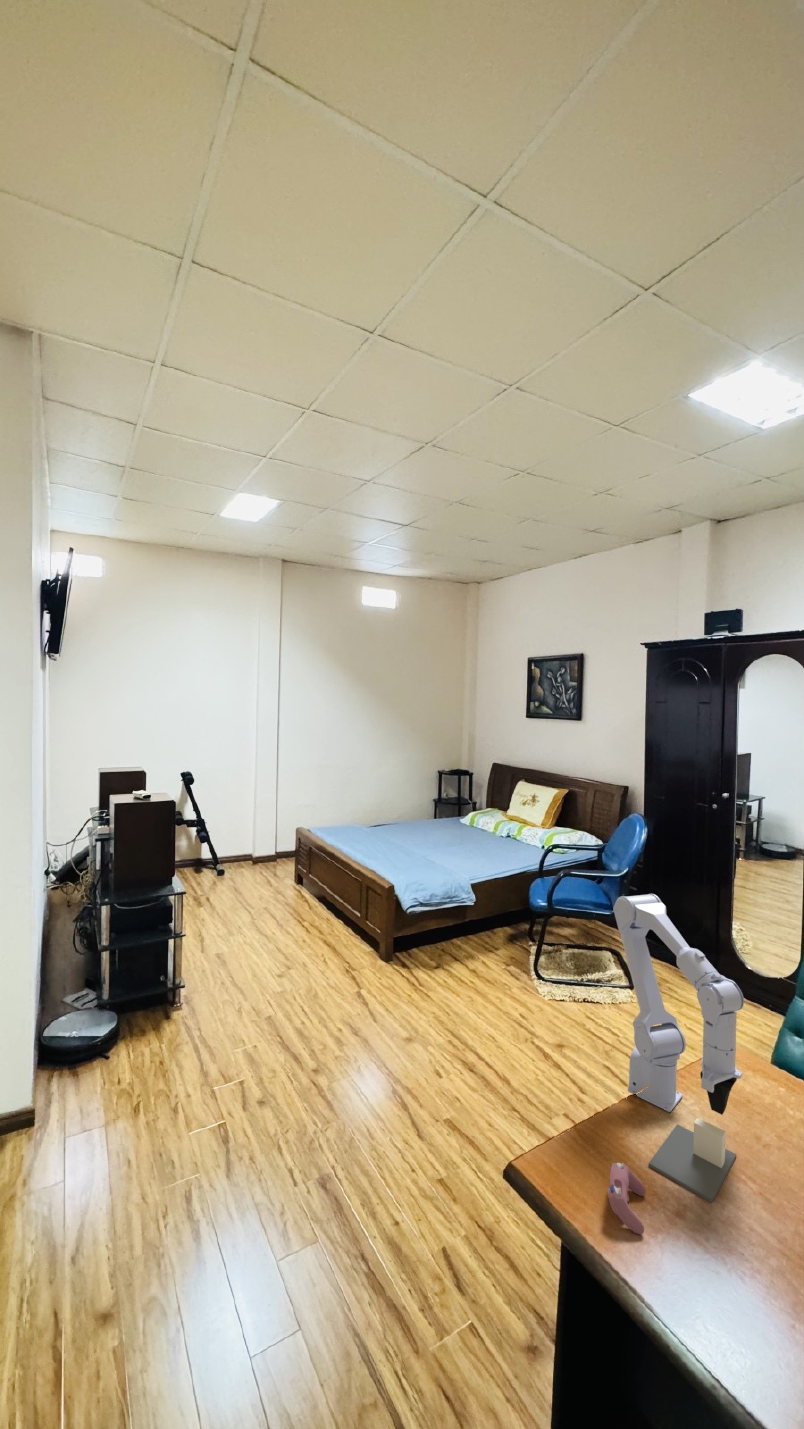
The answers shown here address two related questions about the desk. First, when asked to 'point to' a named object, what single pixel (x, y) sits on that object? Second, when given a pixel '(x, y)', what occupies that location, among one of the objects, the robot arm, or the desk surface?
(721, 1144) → the block
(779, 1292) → the desk surface
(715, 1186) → the mat
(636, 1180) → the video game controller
